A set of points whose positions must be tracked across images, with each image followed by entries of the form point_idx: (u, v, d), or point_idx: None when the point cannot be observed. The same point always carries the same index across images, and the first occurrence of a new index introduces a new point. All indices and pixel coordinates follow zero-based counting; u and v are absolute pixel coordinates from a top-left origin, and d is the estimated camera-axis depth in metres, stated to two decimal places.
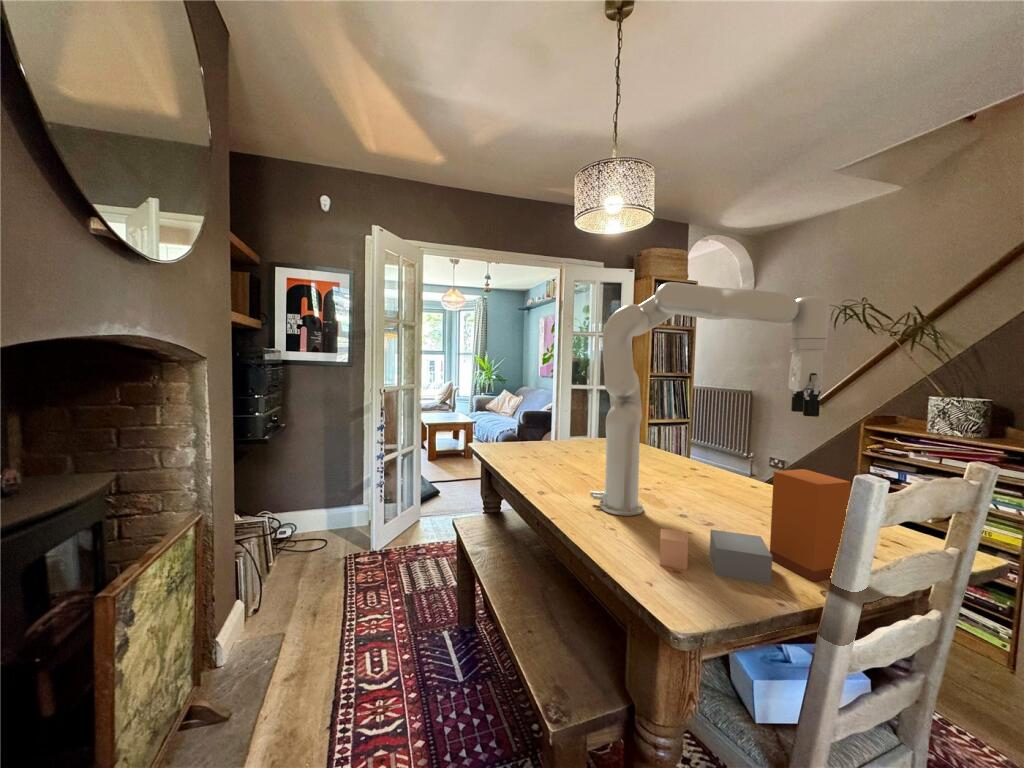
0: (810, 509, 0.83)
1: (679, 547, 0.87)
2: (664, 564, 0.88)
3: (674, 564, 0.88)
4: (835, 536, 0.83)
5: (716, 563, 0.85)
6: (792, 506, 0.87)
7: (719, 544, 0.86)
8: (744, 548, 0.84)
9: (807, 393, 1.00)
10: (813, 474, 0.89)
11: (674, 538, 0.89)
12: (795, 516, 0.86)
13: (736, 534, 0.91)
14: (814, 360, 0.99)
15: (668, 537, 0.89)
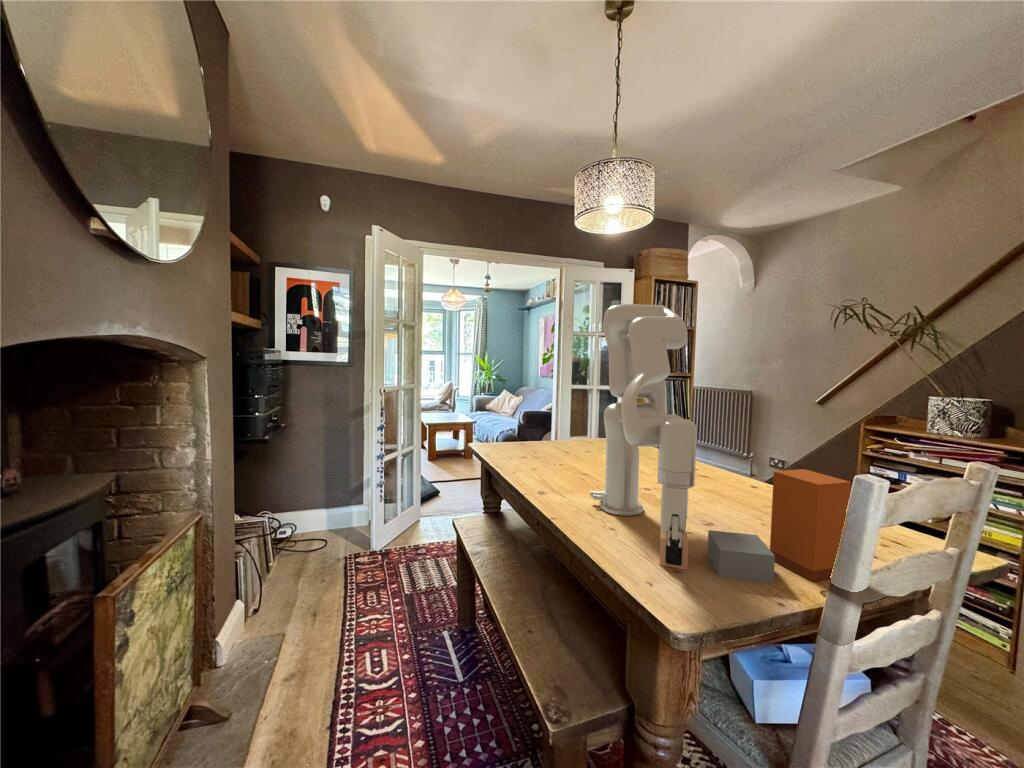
0: (810, 509, 0.83)
1: None
2: (664, 564, 0.88)
3: None
4: (835, 536, 0.83)
5: (720, 565, 0.84)
6: (792, 506, 0.87)
7: (722, 545, 0.86)
8: (746, 548, 0.84)
9: (668, 539, 0.87)
10: (813, 474, 0.89)
11: None
12: (795, 516, 0.86)
13: (734, 534, 0.91)
14: (676, 499, 0.85)
15: None
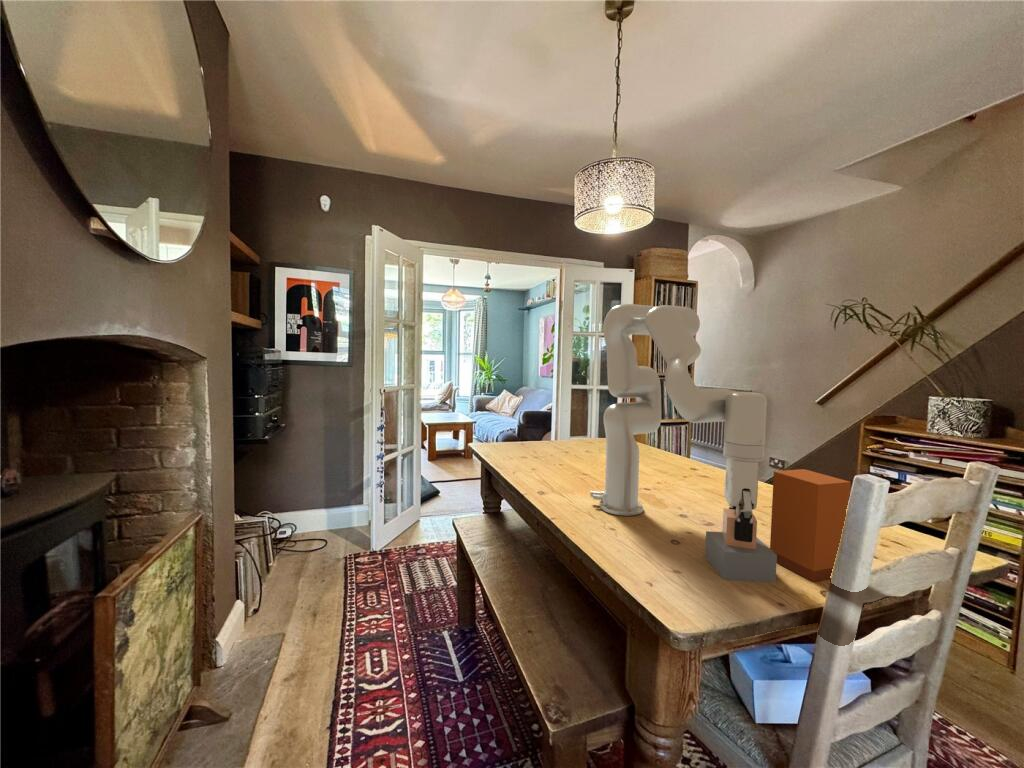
0: (810, 509, 0.83)
1: None
2: (731, 544, 0.86)
3: (742, 543, 0.85)
4: (835, 536, 0.83)
5: (724, 567, 0.83)
6: (792, 506, 0.87)
7: (724, 547, 0.85)
8: (748, 548, 0.84)
9: (738, 514, 0.83)
10: (813, 474, 0.89)
11: None
12: (795, 516, 0.86)
13: None
14: (747, 473, 0.82)
15: (734, 516, 0.86)
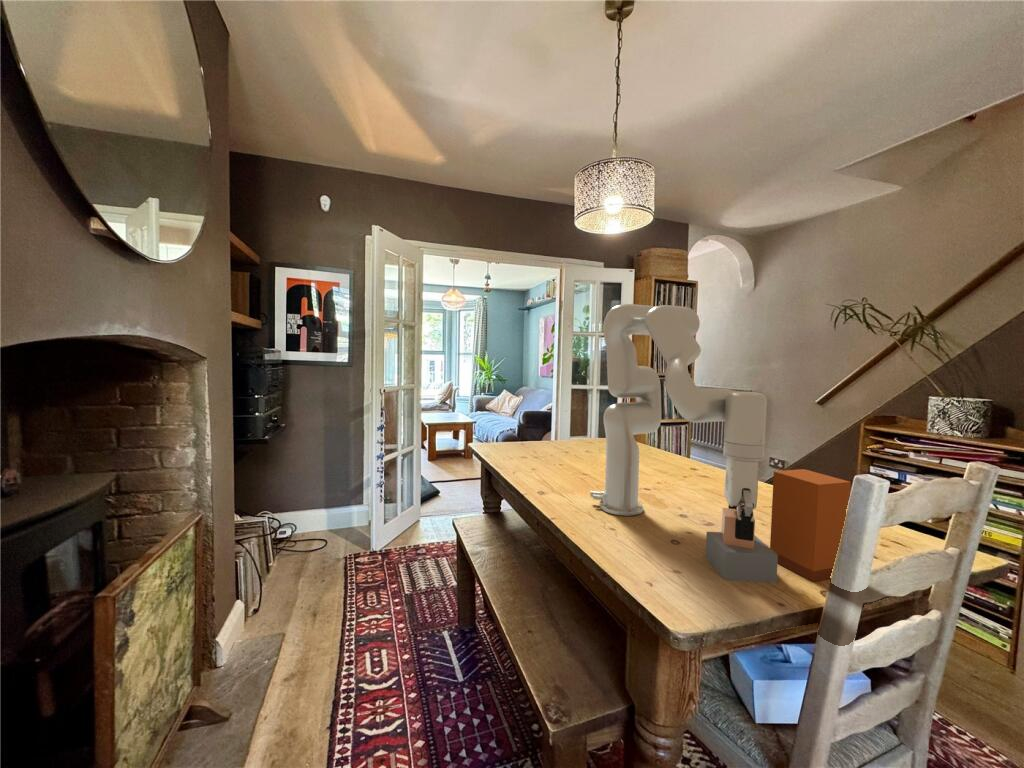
0: (810, 509, 0.83)
1: None
2: (729, 543, 0.86)
3: (739, 543, 0.85)
4: (835, 536, 0.83)
5: (725, 567, 0.83)
6: (792, 506, 0.87)
7: (725, 547, 0.85)
8: (748, 549, 0.84)
9: (739, 512, 0.82)
10: (813, 474, 0.89)
11: None
12: (795, 516, 0.86)
13: None
14: (747, 472, 0.82)
15: (732, 515, 0.86)
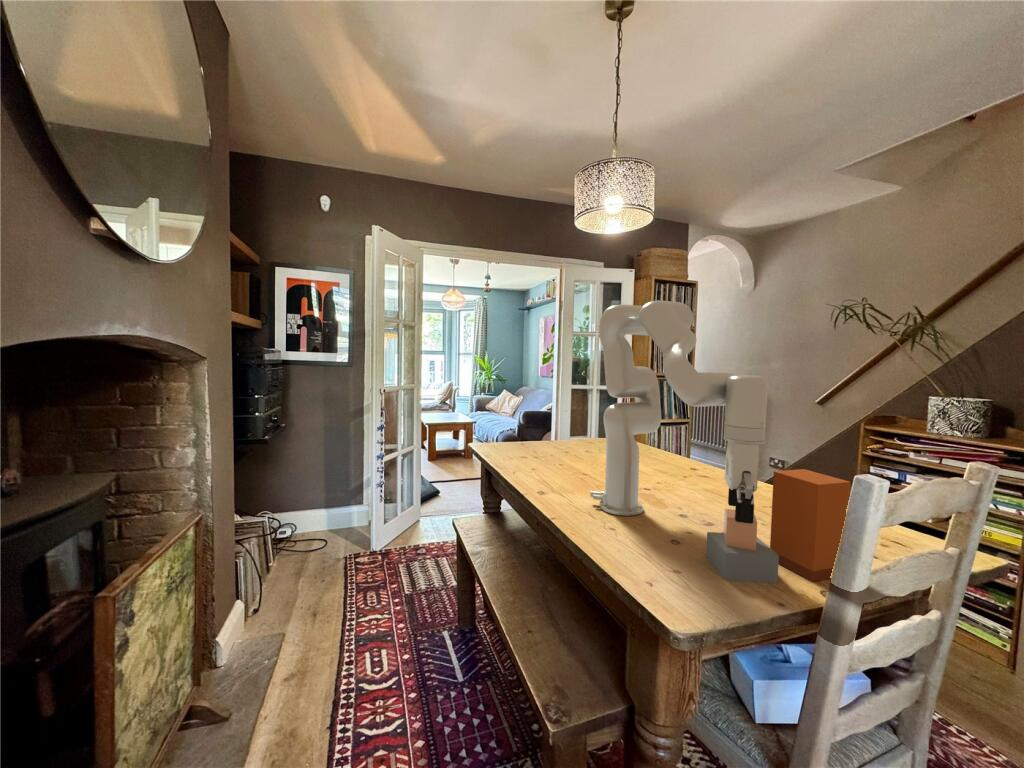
0: (810, 509, 0.83)
1: (747, 527, 0.84)
2: (730, 544, 0.85)
3: (741, 544, 0.85)
4: (835, 536, 0.83)
5: (726, 568, 0.83)
6: (792, 506, 0.87)
7: (726, 547, 0.85)
8: (749, 549, 0.84)
9: (739, 495, 0.82)
10: (813, 474, 0.89)
11: None
12: (795, 516, 0.86)
13: None
14: (748, 455, 0.82)
15: (734, 517, 0.86)
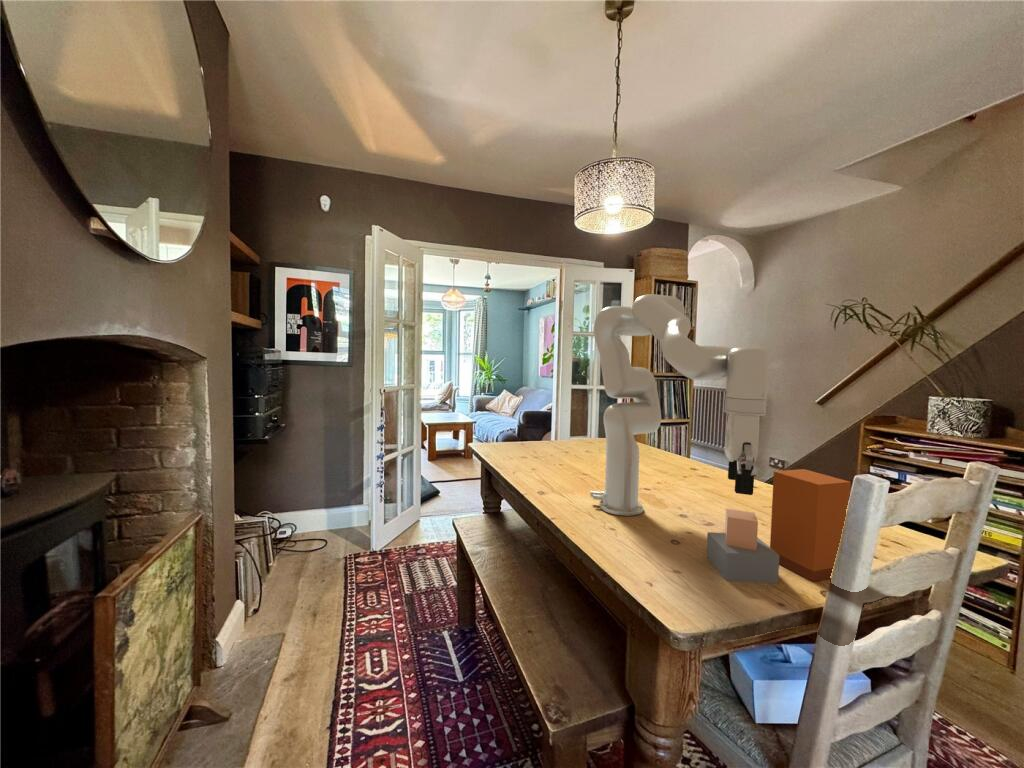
0: (810, 509, 0.83)
1: (748, 526, 0.84)
2: (731, 544, 0.86)
3: (742, 544, 0.85)
4: (835, 536, 0.83)
5: (727, 568, 0.83)
6: (792, 506, 0.87)
7: (727, 548, 0.85)
8: (750, 549, 0.84)
9: (739, 466, 0.82)
10: (813, 474, 0.89)
11: (741, 517, 0.86)
12: (795, 516, 0.86)
13: None
14: (748, 427, 0.82)
15: (735, 516, 0.86)
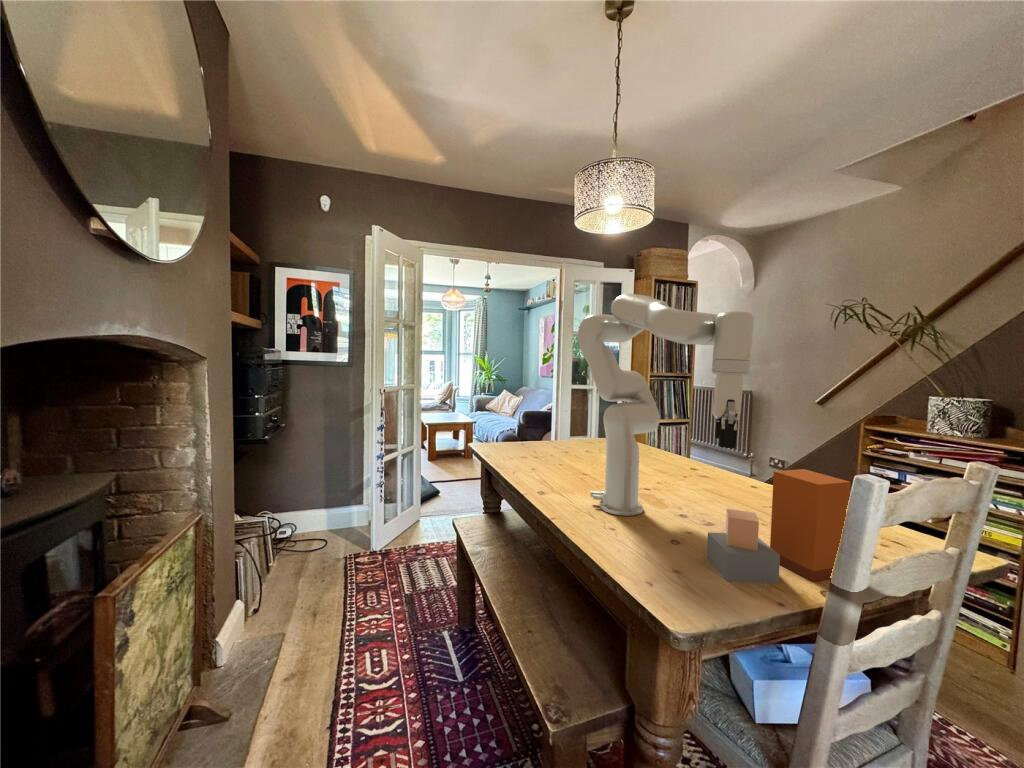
0: (810, 509, 0.83)
1: (749, 527, 0.84)
2: (732, 544, 0.85)
3: (743, 544, 0.85)
4: (835, 536, 0.83)
5: (727, 568, 0.82)
6: (792, 506, 0.87)
7: (727, 548, 0.84)
8: (750, 549, 0.84)
9: (723, 422, 0.88)
10: (813, 474, 0.89)
11: (742, 517, 0.85)
12: (795, 516, 0.86)
13: None
14: (732, 385, 0.88)
15: (736, 517, 0.86)
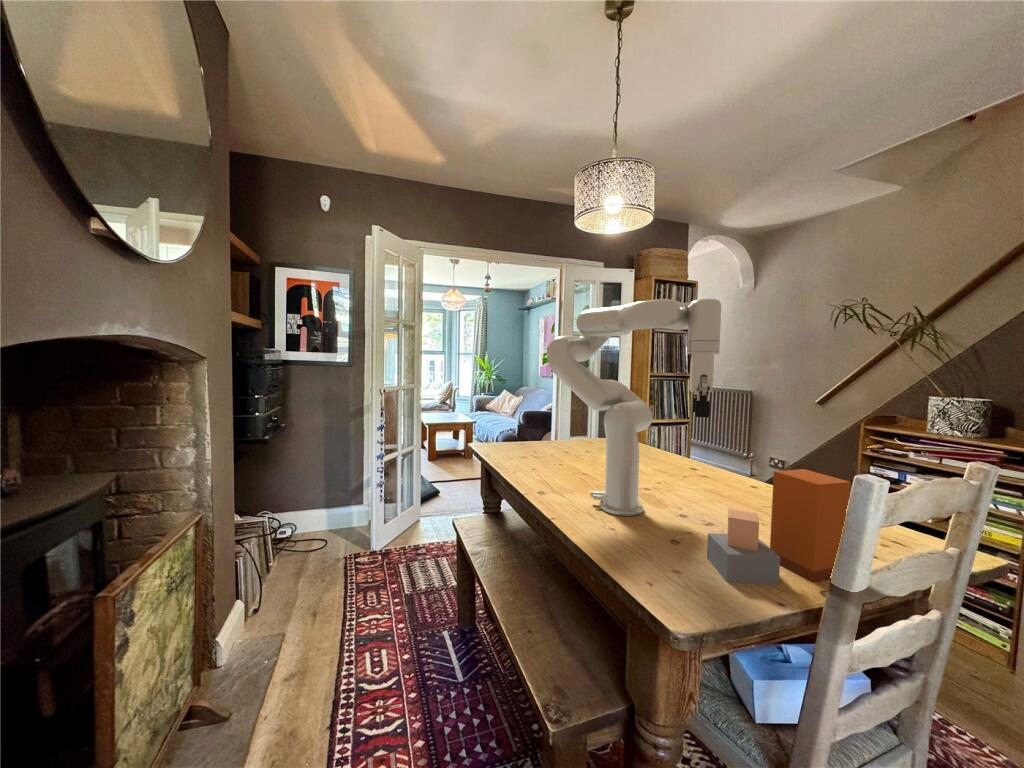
0: (810, 509, 0.83)
1: (749, 527, 0.84)
2: (732, 544, 0.85)
3: (743, 544, 0.84)
4: (835, 536, 0.83)
5: (727, 569, 0.82)
6: (792, 506, 0.87)
7: (727, 549, 0.84)
8: (750, 550, 0.83)
9: (698, 394, 1.01)
10: (813, 474, 0.89)
11: (743, 517, 0.85)
12: (795, 516, 0.86)
13: None
14: (705, 362, 1.01)
15: (736, 517, 0.86)
